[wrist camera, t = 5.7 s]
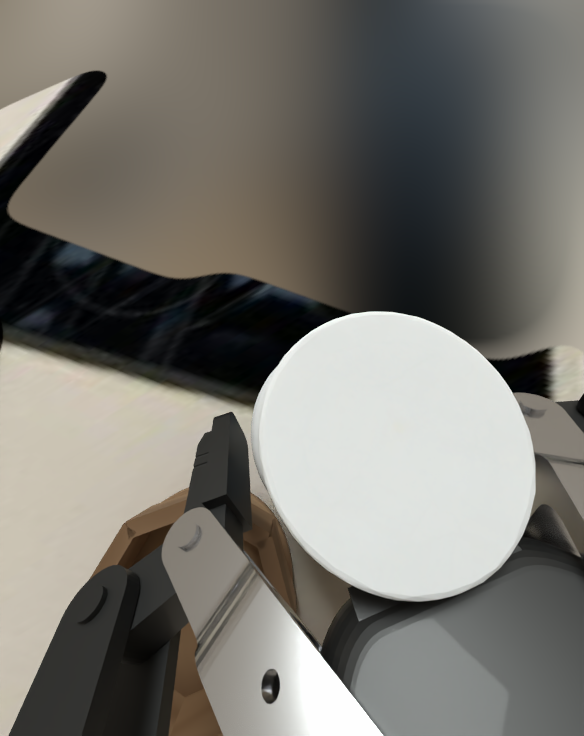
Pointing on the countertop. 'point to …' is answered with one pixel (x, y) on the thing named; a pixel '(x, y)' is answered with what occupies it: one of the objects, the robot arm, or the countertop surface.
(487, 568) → the pill bottle
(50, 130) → the countertop surface
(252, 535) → the bowl
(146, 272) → the countertop surface
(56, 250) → the countertop surface
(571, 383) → the countertop surface
